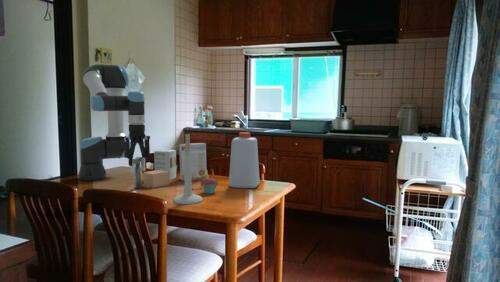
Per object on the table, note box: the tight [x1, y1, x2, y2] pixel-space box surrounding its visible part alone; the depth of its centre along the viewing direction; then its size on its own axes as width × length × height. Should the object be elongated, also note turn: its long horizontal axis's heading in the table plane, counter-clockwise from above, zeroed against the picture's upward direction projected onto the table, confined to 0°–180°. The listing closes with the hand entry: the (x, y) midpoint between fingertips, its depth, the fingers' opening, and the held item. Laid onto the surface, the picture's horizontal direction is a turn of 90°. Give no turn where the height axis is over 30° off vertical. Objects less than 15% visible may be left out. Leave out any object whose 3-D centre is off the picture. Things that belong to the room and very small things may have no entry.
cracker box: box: [178, 142, 207, 182], centre depth 207 cm, size 14×6×21 cm, turn 115°
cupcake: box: [200, 168, 219, 194], centre depth 180 cm, size 9×8×12 cm
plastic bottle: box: [228, 131, 261, 189], centre depth 195 cm, size 15×15×28 cm
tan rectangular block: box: [142, 170, 171, 189], centre depth 189 cm, size 8×12×7 cm
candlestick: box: [173, 133, 204, 205], centre depth 163 cm, size 13×13×30 cm
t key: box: [133, 156, 143, 190], centre depth 182 cm, size 2×10×15 cm, turn 8°
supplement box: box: [153, 149, 177, 181], centre depth 208 cm, size 10×9×17 cm
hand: (137, 171), depth 181 cm, fingers closed on t key, 5 cm apart
